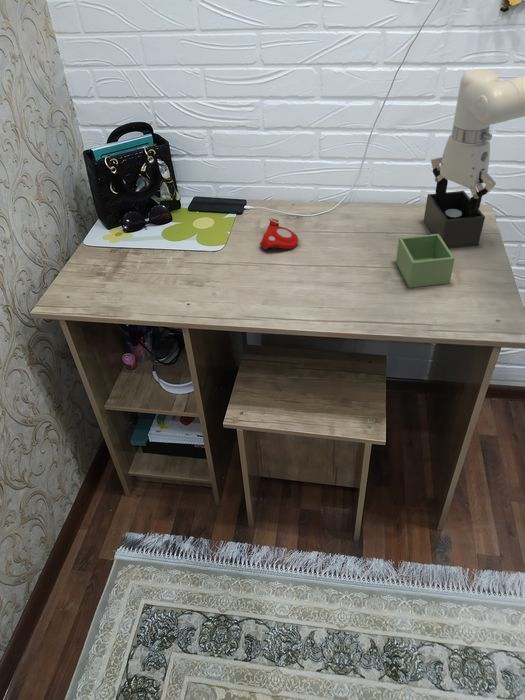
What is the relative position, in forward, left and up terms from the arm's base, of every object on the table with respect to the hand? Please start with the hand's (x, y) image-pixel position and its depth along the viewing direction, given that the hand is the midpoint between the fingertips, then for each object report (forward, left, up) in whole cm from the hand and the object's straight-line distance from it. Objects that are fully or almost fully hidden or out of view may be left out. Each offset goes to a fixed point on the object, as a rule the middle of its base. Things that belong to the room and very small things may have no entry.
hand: (456, 204), depth 136 cm
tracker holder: (+5, +42, -8) cm, 43 cm away
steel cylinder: (0, 0, -7) cm, 7 cm away
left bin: (-15, +12, -8) cm, 21 cm away
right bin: (0, 0, -8) cm, 8 cm away
